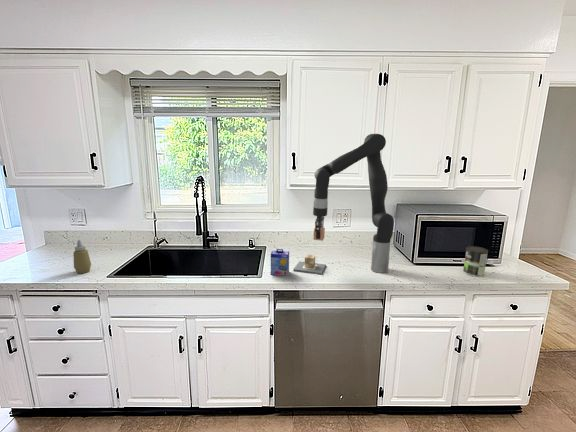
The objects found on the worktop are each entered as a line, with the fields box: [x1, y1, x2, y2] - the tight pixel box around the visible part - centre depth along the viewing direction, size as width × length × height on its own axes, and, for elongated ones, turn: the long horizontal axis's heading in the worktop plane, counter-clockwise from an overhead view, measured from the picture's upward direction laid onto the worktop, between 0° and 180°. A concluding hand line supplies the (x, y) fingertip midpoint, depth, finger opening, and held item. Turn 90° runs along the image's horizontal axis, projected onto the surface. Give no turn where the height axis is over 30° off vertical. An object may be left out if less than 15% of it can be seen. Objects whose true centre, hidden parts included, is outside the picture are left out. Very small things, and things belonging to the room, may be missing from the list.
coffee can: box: [462, 245, 489, 278], centre depth 172 cm, size 10×10×14 cm
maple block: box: [304, 254, 316, 269], centre depth 177 cm, size 5×5×6 cm
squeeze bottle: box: [73, 239, 92, 275], centre depth 169 cm, size 8×8×18 cm
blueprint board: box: [292, 260, 327, 275], centre depth 178 cm, size 16×13×1 cm
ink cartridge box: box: [270, 248, 290, 276], centre depth 170 cm, size 10×6×14 cm, turn 86°
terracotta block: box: [312, 227, 326, 242], centre depth 169 cm, size 5×5×6 cm
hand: (319, 237), depth 169 cm, fingers closed on terracotta block, 5 cm apart
